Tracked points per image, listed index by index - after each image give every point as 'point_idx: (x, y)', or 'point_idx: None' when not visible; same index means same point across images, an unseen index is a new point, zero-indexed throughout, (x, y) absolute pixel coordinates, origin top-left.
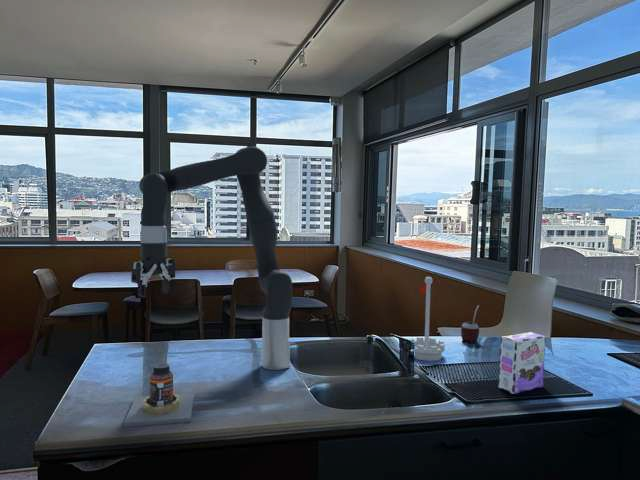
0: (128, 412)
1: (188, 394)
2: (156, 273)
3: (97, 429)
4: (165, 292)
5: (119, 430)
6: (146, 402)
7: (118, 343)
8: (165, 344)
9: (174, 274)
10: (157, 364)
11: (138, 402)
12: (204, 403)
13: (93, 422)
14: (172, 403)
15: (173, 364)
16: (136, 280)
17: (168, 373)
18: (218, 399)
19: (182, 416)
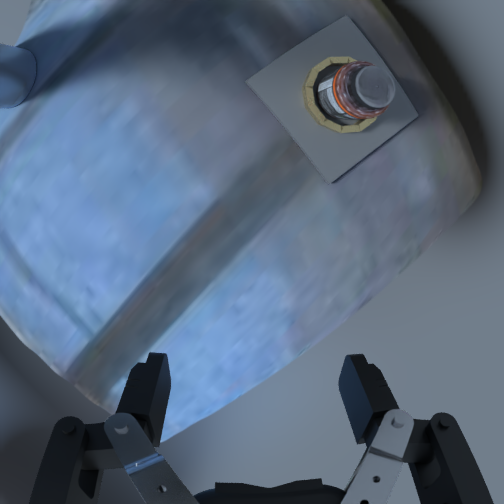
0: (387, 139)
1: (258, 87)
2: (271, 493)
3: (436, 150)
4: (167, 363)
5: (425, 113)
6: (363, 119)
7: None
8: (73, 370)
9: (58, 436)
10: (376, 101)
11: (346, 156)
12: (262, 39)
13: (422, 177)
14: (347, 59)
15: (124, 278)
16: (456, 428)
17: (364, 66)
18: (229, 28)
19: (350, 30)
